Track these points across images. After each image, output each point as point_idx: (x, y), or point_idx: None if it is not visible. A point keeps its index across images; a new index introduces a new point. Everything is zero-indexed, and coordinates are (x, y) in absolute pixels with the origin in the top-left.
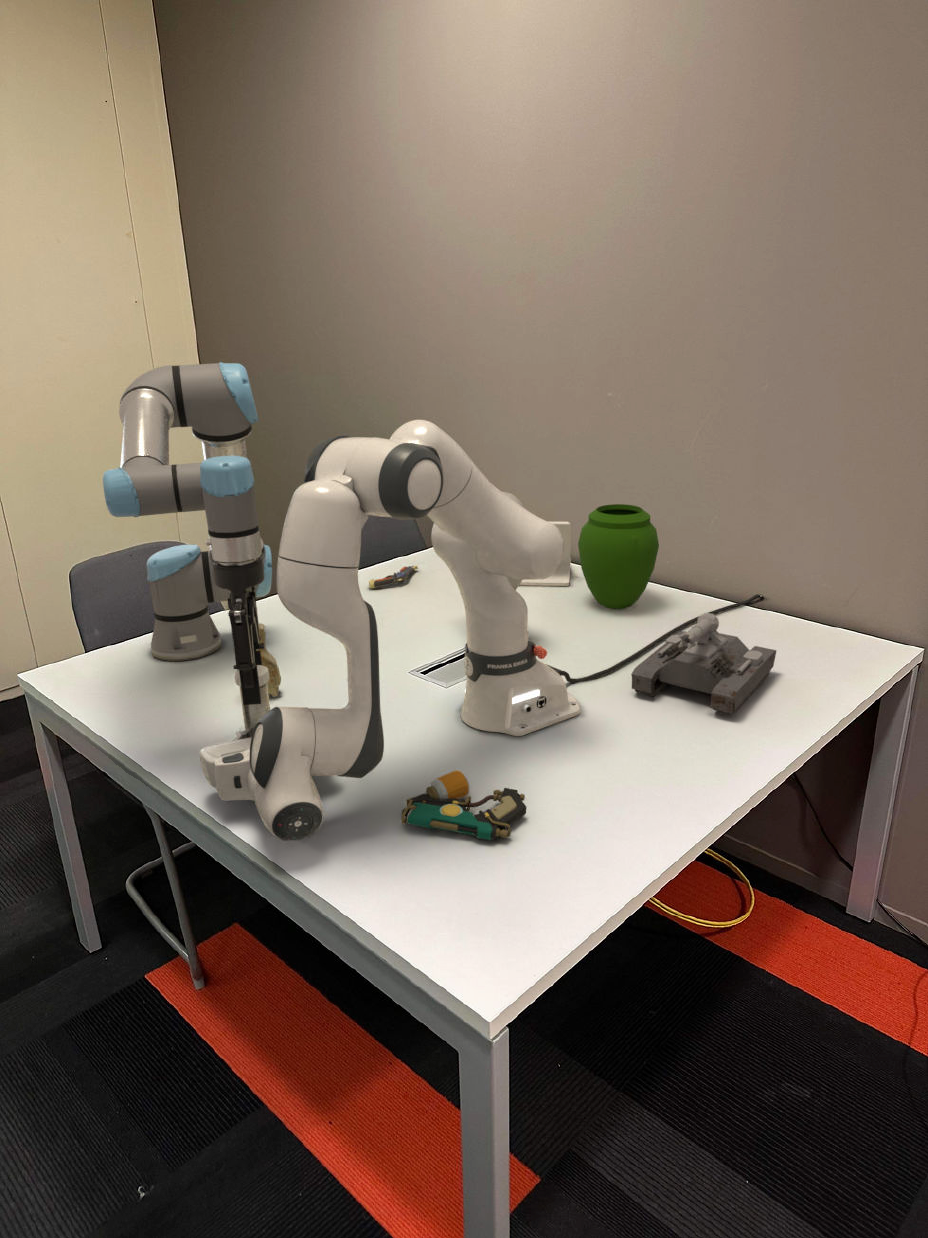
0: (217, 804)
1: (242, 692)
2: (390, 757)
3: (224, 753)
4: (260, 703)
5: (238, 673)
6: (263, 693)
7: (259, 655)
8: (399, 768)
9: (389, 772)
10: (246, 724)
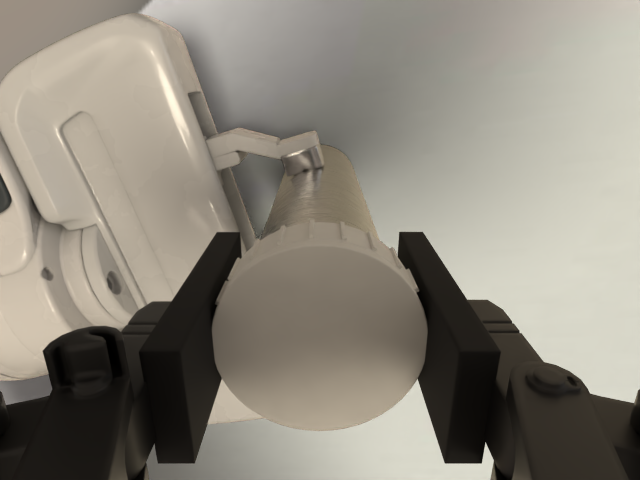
0: None
1: (199, 262)
2: (318, 444)
3: (97, 123)
4: None
5: (301, 269)
6: None
7: (438, 437)
8: (269, 457)
9: (256, 441)
10: (284, 190)
